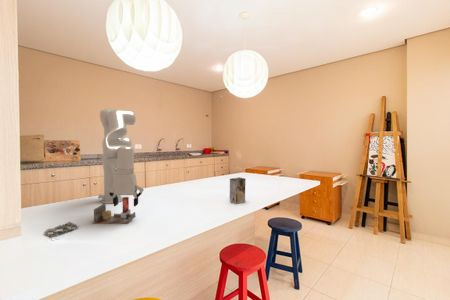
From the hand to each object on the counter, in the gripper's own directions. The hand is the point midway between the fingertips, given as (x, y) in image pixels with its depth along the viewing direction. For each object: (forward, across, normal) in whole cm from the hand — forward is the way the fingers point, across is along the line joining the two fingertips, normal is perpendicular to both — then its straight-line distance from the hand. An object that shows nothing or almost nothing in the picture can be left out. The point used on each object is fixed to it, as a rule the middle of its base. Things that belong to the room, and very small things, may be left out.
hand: (125, 205), depth 106 cm
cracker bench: (+9, -5, 0) cm, 10 cm away
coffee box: (+9, +60, +36) cm, 70 cm away
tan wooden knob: (+7, -9, 0) cm, 12 cm away
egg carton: (+9, -22, -13) cm, 27 cm away
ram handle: (+7, 0, 0) cm, 7 cm away
